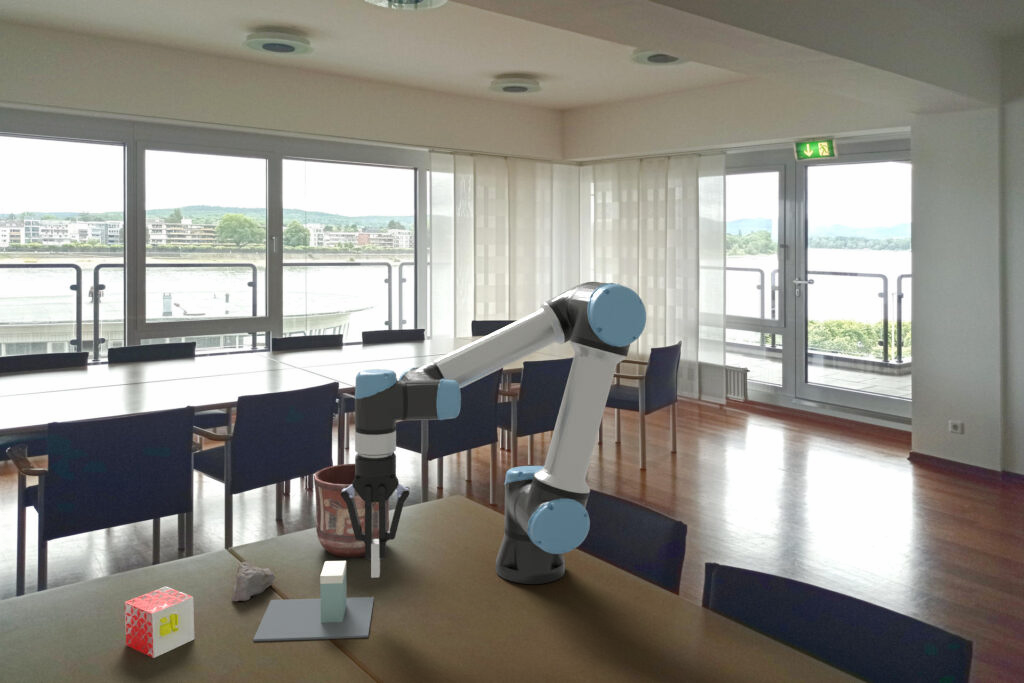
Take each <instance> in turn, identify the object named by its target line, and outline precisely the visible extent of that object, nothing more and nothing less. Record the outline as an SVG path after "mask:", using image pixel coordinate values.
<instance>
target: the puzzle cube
mask: <svg viewBox="0 0 1024 683" xmlns="http://www.w3.org/2000/svg"><path fill="white" fill-rule="evenodd" d="M194 607H195V606H194V596H192V595H190V594H187V593H184V592H182V591H178V590H176V589H173V588H171V587H168V586H163V587H161V588H159V589H158V588H157V589H156V590H152V591H150V592H148V593H145V594H142V595H139V596H137V597H134V598H131V599H129V600H127V601H124V616H125V617H124V619H125V620H124V621H125V645H126V646H128V647H130V648H131V649H134V650H135V651H138V652H140V653H142V654H144V655H147V656H149V657H151V658H153V659H154V658H157V657H159V656H161V655H163V654H165V653H167V652H170V651H172V650H174V649H177V648H178V647H181V646H183V645H185V644H187V643H189V642H192V641H193V640H195V615H194V614H195V609H194Z"/></svg>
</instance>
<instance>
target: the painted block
mask: <svg viewBox="0 0 1024 683" xmlns="http://www.w3.org/2000/svg"><path fill="white" fill-rule="evenodd" d="M319 583H320V584H319V586H320V587H319V590H320V591H319V592H320V597H319V599H320V603H321V623H328V622H343V618H344V614H345V610H346V598H347V560H326V561H324V564H323V567H322V571H321V573H320V575H319Z"/></svg>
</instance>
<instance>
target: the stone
mask: <svg viewBox="0 0 1024 683" xmlns="http://www.w3.org/2000/svg"><path fill="white" fill-rule="evenodd" d="M236 572H237V573H236V575H235V579H234V581H233V582H234V583H233V584H234V587H233V589H232V590H233V594H232V597H231V601H233V602H235V603H237V602H239V601H245V602H246V601H248V600H250V599H251V597H252V596H255V595H259V594H261V593H263V592H265V590H266V589H268V588H269V587H270V586H272V584H273V582H274V580H275V579H276V576H275V575H274V573H273V571H271V569H270V568H268V567H267V568H261V567H259V566H258V567H255V566H254V565H252V564H250V563H249V562H248V561H243V562H241V563H239V564H238V567H237V571H236Z"/></svg>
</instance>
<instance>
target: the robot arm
mask: <svg viewBox="0 0 1024 683" xmlns="http://www.w3.org/2000/svg"><path fill="white" fill-rule="evenodd" d="M646 323H647V311H646V306H645V304H644V302H643V300H642V298H641V297H640V296H639V294H637V292H636V291H635V290H633V289H632V288H629V287H628V286H625V285H622V284H619V283H613V282H599V281H588V282H583V283H580V284H578V285H575V286H574V287H572V288H569V289H568V290H566V291H564V292H562V293H561V294H558V295H557V296H555V297H553V298H551V299H549V300H547V301H545V302H542V303H541V305H540V308H539V310H537V311H535V312H532V313H531V314H528V315H526V316H524V317H522V318H520V319H518V320H515V321H514V322H512V323H510V324H507V325H506V326H504V327H501V328H500V329H497V330H495V331H493V332H491V333H489V334H487V335H484V336H483V337H480V338H479V339H477V340H474V341H473V342H471V343H468V344H466V345H464V346H461V347H460V348H458V349H456V350H453V351H452V352H450V353H447V354H445V355H444V356H441V357H439V358H437V359H435V360H433V361H431V362H428V363H426V364H424V365H423V366H419V367H418V366H416V367H411V368H407V369H406V370H405V371H404V372H403V373H402V374H401V375H400V376H399V378H397V374H396V372H395V371H394V370H391V369H385V368H384V369H380V368H376V369H375V368H374V369H365V370H361V371H359V372H358V373H357V375H356V377H355V386H354V387H355V388H354V391H355V392H354V424H355V425H354V426H355V427H354V429H355V430H354V451H355V452H356V454H355V456H354V464H355V478H354V480H353V483H352V485H350V486H349V487H347V488H343V489H342V492H341V497H342V498H343V499H344V501H345V502H346V504H347V508H348V512H349V516H350V520H351V523H352V527H353V531H354V535H355V539H356V540H361V541H363V542H364V543H365V556H364V557H365V560H370V563H371V564H370V568H371V569H370V574H371V575H370V577H371V578H372V579H374V578H380V573H381V560H382V559H385V558H386V557H387V542H388V541H391V540H392V541H393V540H394V539H395V538H396V535H397V531H398V527H399V522H400V520H401V515H402V511H403V507H404V504H405V502H406V500H407V499H408V498H409V496H410V491H411V490H410V489H411V488H409V487H408V486H404V485H402V484H400V483H399V482H400V481H399V479H398V477H397V455H396V453H395V452H396V450H397V422H398V421H399V422H400V421H401V422H402V421H403V422H405V421H406V422H407V421H436V420H437V421H438V420H439V421H443V420H450V419H456V418H457V417H458V416H459V414H460V412H461V405H462V396H461V395H462V394H461V388H465V387H466V386H469V385H470V384H472V383H474V382H476V381H478V380H481V379H482V378H485V377H486V376H490V374H491V375H492V373H495V372H497V371H499V370H502V369H503V368H504V367H507V366H509V365H511V364H513V363H516V362H517V361H519V360H522V359H523V358H526V357H528V356H530V355H532V354H534V353H536V352H538V351H540V350H542V349H544V348H546V347H549V346H550V345H552V344H555V343H556V344H559V345H563V344H565V343H567V342H569V344H570V346H571V347H572V349H573V351H574V355H573V358H572V362H571V367H570V371H569V374H568V378H567V382H566V385H565V389H564V392H563V396H562V400H561V404H560V406H559V411H558V414H557V418H556V422H555V425H554V430H553V433H552V437H551V440H550V443H549V447H548V451H547V453H546V454H547V455H546V458H545V462H544V465H524V466H523V465H522V466H516V467H511V468H509V469H508V470H507V471H506V473H505V478H504V479H505V480H504V531H503V532H504V535H503V538H502V541H501V544H500V546H499V550H498V553H497V556H496V559H495V572H496V574H497V576H500V578H502V579H503V580H504V579H505V580H507V581H509V582H513V583H517V584H524V585H525V584H526V585H543V584H548V583H552V582H555V581H557V580H559V579H562V578H563V577H564V575H565V572H566V560H565V557H564V554H567V553H569V552H572V551H573V550H574V549H577V548H579V546H581V544H582V543H583V542H584V541H585V539H586V538H587V536H588V534H589V531H590V525H591V524H590V523H591V520H590V517H589V516H590V515H589V512H588V511H587V509H586V507H587V504H588V503H587V502H588V500H589V496H590V492H591V488H590V486H589V484H588V483H587V480H586V477H587V473H588V470H589V466H590V463H591V459H592V457H593V456H592V455H593V453H594V448H595V444H596V442H597V437H598V433H599V431H600V427H601V422H602V419H603V416H604V413H605V412H604V411H605V409H606V405H607V400H608V399H609V395H610V394H609V393H610V390H611V386H612V383H613V379H614V376H615V372H616V369H617V366H618V364H619V363H621V362H623V361H624V360H625V359H627V357H628V354H629V350H630V347H631V344H633V343H634V342H636V340H638V339H639V338H640V337H641V336H642V334H643V332H644V330H645V327H646ZM354 490H356V492H357V493H358V494H359V496H360V497H361V498H362V500H364V501H365V532H363V531H362V528H361V524H360V520H359V516H358V512H357V508H356V504H355V500H354V495H355V493H354ZM395 491H396V497H397V500H396V504H395V508H394V512H393V516H392V520H391V524H390V526H389V530H388V532H386V501H387V500H388V499H389V500H390V497H391V496H392V495H393V493H394V492H395ZM373 502H378V503H379V539H372V503H373Z"/></svg>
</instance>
